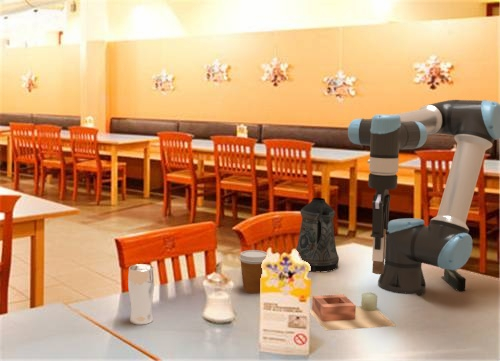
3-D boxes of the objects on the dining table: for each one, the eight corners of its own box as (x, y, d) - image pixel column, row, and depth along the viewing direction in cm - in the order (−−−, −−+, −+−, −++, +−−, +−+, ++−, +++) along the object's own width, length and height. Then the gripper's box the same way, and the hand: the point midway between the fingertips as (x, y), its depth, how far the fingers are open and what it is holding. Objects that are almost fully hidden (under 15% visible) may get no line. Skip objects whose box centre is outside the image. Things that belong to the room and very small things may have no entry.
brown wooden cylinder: (380, 270, 170) (383, 227, 168) (385, 274, 167) (387, 230, 165) (370, 271, 169) (372, 228, 168) (375, 274, 166) (377, 230, 165)
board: (372, 308, 183) (373, 292, 182) (396, 329, 167) (397, 311, 166) (307, 312, 178) (307, 295, 178) (325, 333, 163) (326, 315, 162)
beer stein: (316, 257, 238) (318, 193, 235) (353, 269, 223) (357, 201, 220) (283, 264, 228) (285, 197, 225) (321, 277, 213) (323, 205, 209)
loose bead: (372, 305, 183) (373, 292, 182) (379, 310, 179) (379, 297, 178) (358, 306, 182) (359, 293, 181) (364, 311, 178) (365, 298, 177)
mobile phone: (467, 278, 200) (448, 263, 215) (458, 278, 200) (440, 263, 215) (466, 292, 201) (447, 277, 216) (457, 292, 201) (439, 277, 215)
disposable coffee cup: (265, 296, 192) (266, 258, 190) (235, 293, 194) (236, 256, 192) (270, 287, 201) (271, 251, 199) (241, 284, 203) (242, 248, 201)
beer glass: (158, 318, 172) (158, 265, 169) (146, 327, 165) (146, 272, 163) (136, 314, 174) (136, 262, 172) (123, 323, 167) (123, 269, 165)
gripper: (374, 169, 173) (370, 251, 176) (362, 175, 159) (358, 264, 162) (402, 170, 170) (397, 254, 173) (392, 177, 156) (387, 268, 159)
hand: (378, 259), depth 168 cm, fingers closed on brown wooden cylinder, 2 cm apart
